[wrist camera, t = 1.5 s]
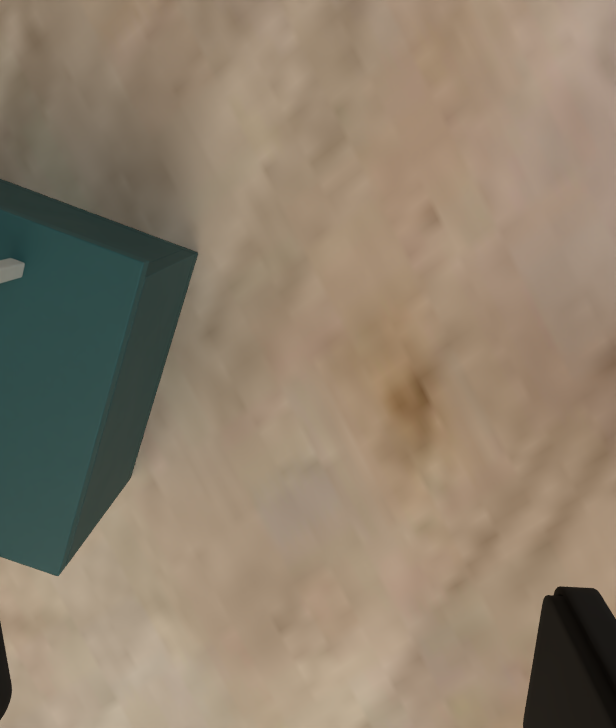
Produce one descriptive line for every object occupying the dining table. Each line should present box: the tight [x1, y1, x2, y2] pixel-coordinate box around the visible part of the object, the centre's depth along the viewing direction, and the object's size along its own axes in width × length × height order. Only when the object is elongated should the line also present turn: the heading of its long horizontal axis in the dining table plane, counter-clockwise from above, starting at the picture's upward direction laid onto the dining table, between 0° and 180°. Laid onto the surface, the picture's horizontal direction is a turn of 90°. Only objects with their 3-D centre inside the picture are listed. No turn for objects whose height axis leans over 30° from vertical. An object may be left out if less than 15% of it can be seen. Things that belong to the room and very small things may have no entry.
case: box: [0, 179, 198, 566], centre depth 33 cm, size 17×16×10 cm
